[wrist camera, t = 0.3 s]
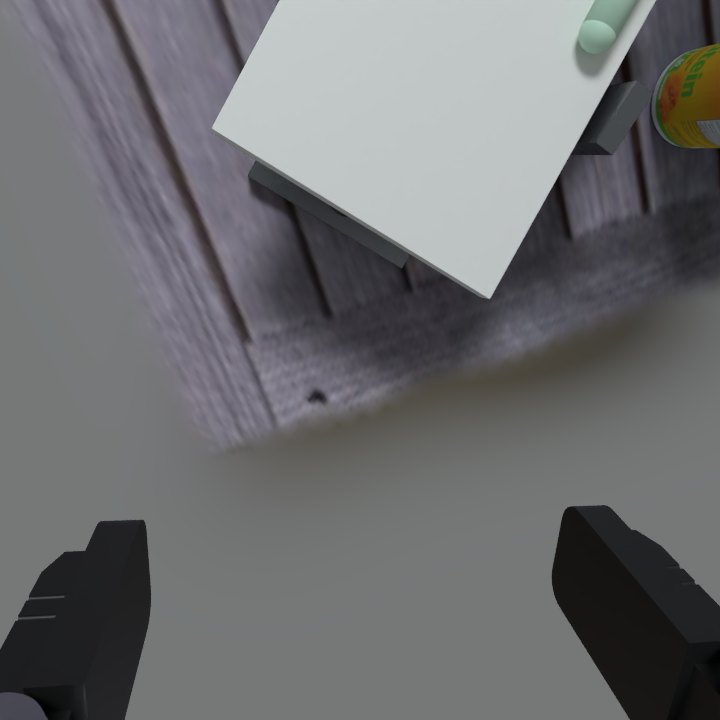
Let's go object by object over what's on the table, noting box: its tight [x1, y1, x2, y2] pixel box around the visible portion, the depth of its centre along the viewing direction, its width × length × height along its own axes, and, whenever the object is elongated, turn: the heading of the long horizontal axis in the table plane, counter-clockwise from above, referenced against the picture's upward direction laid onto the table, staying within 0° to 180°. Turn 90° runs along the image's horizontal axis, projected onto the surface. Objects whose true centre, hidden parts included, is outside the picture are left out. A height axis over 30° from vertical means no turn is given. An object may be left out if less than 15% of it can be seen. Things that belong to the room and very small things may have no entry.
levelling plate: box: [212, 0, 656, 299], centre depth 25 cm, size 20×14×3 cm
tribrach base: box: [248, 81, 653, 268], centre depth 29 cm, size 22×17×8 cm
